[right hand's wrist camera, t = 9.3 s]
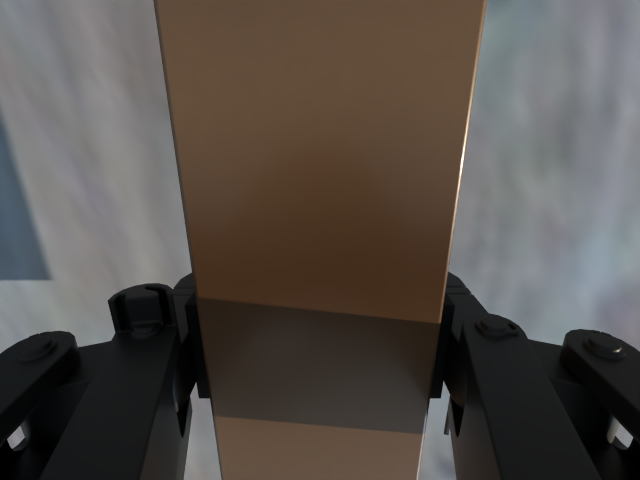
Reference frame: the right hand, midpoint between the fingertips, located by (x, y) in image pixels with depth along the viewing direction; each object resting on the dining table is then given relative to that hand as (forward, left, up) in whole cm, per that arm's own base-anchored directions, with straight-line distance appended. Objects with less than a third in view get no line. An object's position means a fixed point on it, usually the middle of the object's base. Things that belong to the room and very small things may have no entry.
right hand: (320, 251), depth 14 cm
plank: (+10, +17, -1) cm, 20 cm away
